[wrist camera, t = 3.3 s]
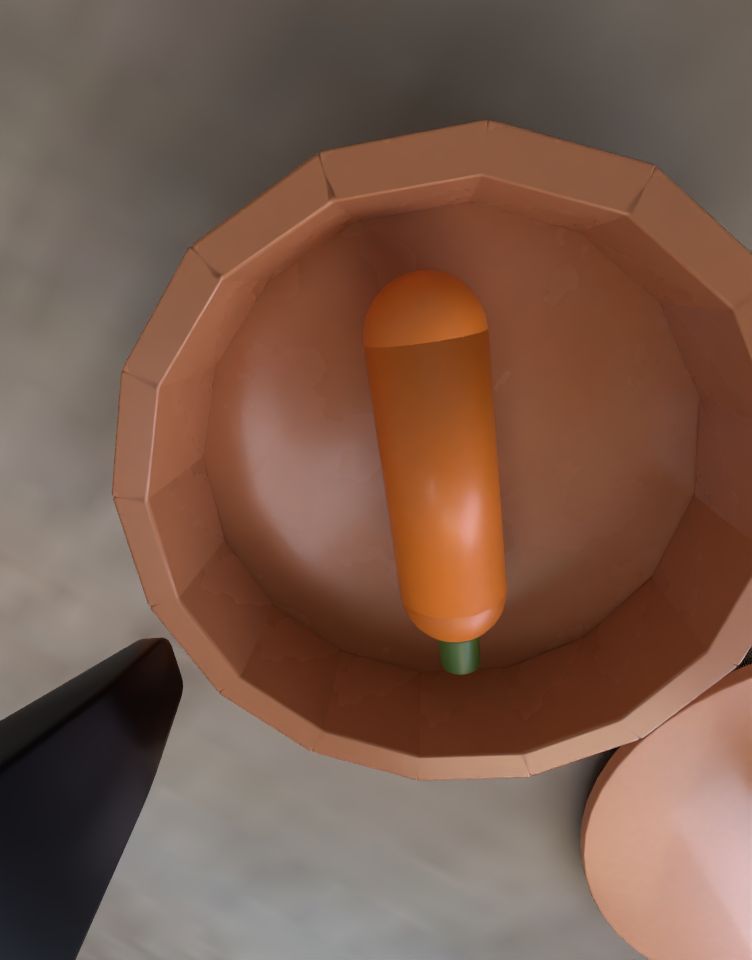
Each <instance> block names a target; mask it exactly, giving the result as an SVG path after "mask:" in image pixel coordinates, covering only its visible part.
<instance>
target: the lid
mask: <svg viewBox="0 0 752 960" xmlns="http://www.w3.org/2000/svg"><path fill="white" fill-rule="evenodd" d="M580 850H581V858H582V865H583V869H584V873H585V876H586V880H587V883H588V886H589V889H590V892H591V895H592V897H593V899H594V901H595V902H596V904H597V906H598V908H599V910H600V912H601V913H602V915H603V916H604V917H605V919H606V920H607V921H608V923H609V924H610V925H611V926H612V928H613V929H614V930H615V931H616V932H617V933H618V934H619V935H620V936H621V937H622V938H623V939H624V940H625V941H626V942H627V943H628V944H629V945H630V946H631V947H633V948H634V949H636V950H637V951H638V952H640V953H641V954H642V955H644V956H645V957H647V958H648V959H649V960H752V664H749V665H747V666H744V667H742V668H739V669H737V670H734V671H732V672H730V673H728V674H727V675H726V676H724V677H723V678H722V679H720V680H719V681H718V682H716V683H715V684H714V685H712V686H711V687H710V688H708V689H707V690H706V691H704V692H703V693H702V694H700V695H699V696H698V697H696V698H695V699H694V700H692V701H691V702H690V703H689V704H687V705H686V706H685V707H683V708H682V709H681V710H679V711H678V712H677V713H675V714H674V715H673V716H671V717H670V718H669V719H667V720H666V721H665V722H663V723H662V724H661V725H659V726H658V727H657V728H655V729H654V730H653V731H651V732H650V733H649V734H648V735H646V736H645V737H644V738H639V739H638V740H637V741H634V742H631V743H628V744H625V745H622V746H621V747H620V748H619V749H618V750H617V751H616V752H615V753H614V754H613V755H612V757H611V758H610V760H609V761H608V763H607V764H606V766H605V767H604V769H603V770H602V772H601V773H600V775H599V776H598V778H597V780H596V782H595V784H594V786H593V789H592V791H591V793H590V795H589V797H588V800H587V803H586V807H585V811H584V814H583V818H582V822H581V835H580Z"/></svg>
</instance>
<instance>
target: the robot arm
mask: <svg viewBox="0 0 752 960" xmlns="http://www.w3.org/2000/svg"><path fill="white" fill-rule="evenodd" d="M182 691H183V681H182V677H181V674H180V670H179V667H178V664H177V661H176V658H175V655H174V652H173V649H172V646H171V644H170V642H169V641H168V640H167V639H165V638H150V639H141V640H138V641H136V642H135V643H133V644H131V645H130V646H128V647H126V648H124V649H123V650H121V651H119V652H118V653H116V654H114V655H112V656H111V657H109V658H107V659H106V660H104V661H102V662H100V663H99V664H97V665H95V666H94V667H92V668H90V669H88V670H87V671H85V672H83V673H82V674H80V675H78V676H77V677H75V678H73V679H71V680H70V681H68V682H66V683H65V684H63V685H61V686H59V687H58V688H56V689H54V690H53V691H51V692H49V693H47V694H46V695H44V696H42V697H41V698H39V699H37V700H35V701H34V702H32V703H30V704H29V705H27V706H25V707H24V708H22V709H20V710H18V711H17V712H15V713H13V714H12V715H10V716H8V717H6V718H5V719H3V720H1V721H0V960H76V957H77V955H78V953H79V950H80V948H81V946H82V944H83V941H84V939H85V937H86V935H87V932H88V930H89V928H90V926H91V923H92V921H93V919H94V916H95V914H96V912H97V910H98V907H99V905H100V903H101V901H102V898H103V896H104V894H105V892H106V889H107V887H108V885H109V883H110V880H111V878H112V876H113V873H114V871H115V869H116V867H117V864H118V862H119V860H120V858H121V855H122V853H123V851H124V849H125V846H126V844H127V842H128V839H129V837H130V835H131V833H132V830H133V828H134V826H135V824H136V821H137V819H138V817H139V815H140V812H141V810H142V808H143V805H144V803H145V801H146V798H147V796H148V793H149V791H150V788H151V785H152V783H153V780H154V777H155V775H156V772H157V769H158V766H159V763H160V760H161V757H162V754H163V751H164V748H165V745H166V742H167V739H168V736H169V733H170V730H171V727H172V724H173V721H174V718H175V715H176V712H177V709H178V706H179V703H180V700H181V696H182Z"/></svg>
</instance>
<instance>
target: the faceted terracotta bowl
mask: <svg viewBox="0 0 752 960" xmlns="http://www.w3.org/2000/svg"><path fill="white" fill-rule="evenodd" d="M417 270H435V271H441V272H445V273H448V274H450V275H453V276H455V277H457V278H458V279H460V280H461V281H463V282H464V283H466V284H467V285H468V286H469V287H470V288H471V289H472V290H473V291H474V293H475V294H476V296H477V297H478V299H479V300H480V302H481V304H482V306H483V309H484V311H485V314H486V318H487V324H488V330H489V344H490V358H491V372H492V386H493V400H494V413H495V427H496V441H497V455H498V469H499V483H500V497H501V511H502V525H503V539H504V553H505V567H506V581H507V597H506V602H505V605H504V608H503V612H502V614H501V615H500V617H499V619H498V620H497V622H496V623H495V625H493V626H492V627H491V628H490V629H489V630H488V631H487V632H486V633H485V634H483V635H481V636H480V637H479V642H480V653H481V663H480V666H479V667H478V668H477V669H476V670H475V671H474V672H472V673H469V674H465V675H457V674H452V673H450V672H448V671H446V670H445V669H444V668H443V666H442V664H441V659H440V651H439V643H438V640H437V639H435V638H432V637H430V636H429V635H427V634H426V633H424V632H423V631H421V630H420V629H419V628H418V627H417V626H416V625H415V624H414V623H413V622H412V620H411V619H410V618H409V616H408V614H407V612H406V610H405V608H404V606H403V602H402V599H401V594H400V587H399V581H398V574H397V567H396V561H395V554H394V547H393V540H392V534H391V527H390V520H389V514H388V507H387V500H386V493H385V487H384V480H383V473H382V466H381V460H380V453H379V446H378V440H377V433H376V426H375V419H374V413H373V406H372V399H371V393H370V386H369V379H368V372H367V366H366V359H365V352H364V342H363V330H364V323H365V319H366V316H367V313H368V310H369V307H370V306H371V304H372V302H373V300H374V299H375V297H376V296H377V295H378V293H379V292H380V291H381V290H382V289H383V288H384V287H385V286H386V285H387V284H389V283H390V282H391V281H392V280H394V279H396V278H398V277H400V276H402V275H404V274H406V273H410V272H414V271H417ZM122 370H123V371H122V372H121V383H120V396H119V409H118V422H117V435H116V448H115V461H114V474H113V487H112V495H113V496H114V499H113V500H114V503H115V506H116V509H117V512H118V515H119V518H120V521H121V524H122V527H123V530H124V533H125V536H126V539H127V542H128V545H129V548H130V551H131V554H132V557H133V560H134V563H135V566H136V569H137V572H138V575H139V578H140V581H141V584H142V587H143V590H144V593H145V596H146V599H147V602H148V604H149V605H151V610H152V611H153V612H154V613H155V615H156V616H157V617H158V618H159V620H160V621H161V622H162V623H163V624H164V626H165V627H166V628H167V629H168V631H169V632H170V633H171V634H172V636H173V637H174V638H175V639H176V641H177V642H178V643H179V644H180V645H181V647H182V648H183V649H184V650H185V652H186V653H187V654H188V655H189V657H190V658H191V659H192V660H193V662H194V663H195V664H196V665H197V666H198V668H199V669H200V670H201V671H202V673H203V674H204V675H205V676H206V678H207V679H208V680H209V681H210V683H211V684H212V685H213V686H214V687H215V689H216V690H217V691H220V694H221V695H222V696H224V697H225V698H227V699H228V700H230V701H232V702H233V703H235V704H236V705H238V706H240V707H241V708H243V709H244V710H246V711H247V712H249V713H251V714H252V715H254V716H255V717H257V718H258V719H260V720H262V721H263V722H265V723H266V724H268V725H270V726H271V727H273V728H274V729H276V730H277V731H279V732H281V733H282V734H284V735H285V736H287V737H288V738H290V739H292V740H293V741H295V742H296V743H298V744H300V745H301V746H303V747H304V748H306V749H307V750H309V751H311V750H312V752H315V753H318V754H322V755H326V756H329V757H333V758H337V759H341V760H344V761H348V762H352V763H355V764H359V765H363V766H367V767H370V768H374V769H378V770H381V771H385V772H389V773H393V774H396V775H400V776H404V777H407V778H411V779H418V780H450V779H485V778H521V777H529V776H530V775H531V776H533V775H536V774H539V773H542V772H545V771H548V770H551V769H554V768H557V767H560V766H563V765H566V764H569V763H572V762H575V761H578V760H581V759H584V758H587V757H590V756H593V755H595V754H598V753H601V752H604V751H607V750H610V749H613V748H616V747H619V746H622V745H625V744H628V743H631V742H634V741H637V740H638V739H639V738H644V737H645V736H646V735H648V734H649V733H650V732H651V731H653V730H654V729H655V728H657V727H658V726H659V725H661V724H662V723H663V722H665V721H666V720H667V719H669V718H670V717H671V716H673V715H674V714H675V713H677V712H678V711H679V710H681V709H682V708H683V707H685V706H686V705H687V704H689V703H690V702H691V701H692V700H694V699H695V698H696V697H698V696H699V695H700V694H702V693H703V692H704V691H706V690H707V689H708V688H710V687H711V686H712V685H714V684H715V683H716V682H718V681H719V680H720V679H722V678H723V677H724V676H726V675H727V674H728V673H730V672H731V671H732V670H733V669H735V668H736V667H737V665H739V664H740V663H741V662H742V660H743V658H744V657H745V655H746V654H747V652H748V650H749V649H750V647H751V646H752V253H751V252H749V251H748V250H747V249H746V248H745V247H744V246H743V245H742V244H741V243H740V242H739V241H737V240H736V239H735V238H734V237H733V236H732V235H731V234H730V233H729V232H728V231H727V230H726V229H724V228H723V227H722V226H721V225H720V224H719V223H718V222H717V221H716V220H715V219H714V218H712V217H711V216H710V215H709V214H708V213H707V212H706V211H705V210H704V209H703V208H702V207H701V206H699V205H698V204H697V203H696V202H695V201H694V200H693V199H692V198H691V197H690V196H689V195H688V194H686V193H685V192H684V191H683V190H682V189H681V188H680V187H679V186H678V185H677V184H676V183H674V182H673V181H672V180H671V179H670V178H669V177H668V176H667V175H666V174H665V173H664V172H663V171H661V170H660V169H659V168H657V167H655V165H653V164H651V163H647V162H644V161H640V160H636V159H633V158H629V157H625V156H622V155H618V154H614V153H611V152H607V151H603V150H600V149H596V148H592V147H589V146H585V145H581V144H578V143H574V142H570V141H567V140H563V139H559V138H556V137H552V136H548V135H545V134H541V133H537V132H534V131H530V130H526V129H523V128H519V127H515V126H512V125H508V124H504V123H501V122H497V121H493V120H488V121H487V120H480V121H474V122H469V123H464V124H459V125H453V126H448V127H443V128H438V129H433V130H427V131H422V132H417V133H412V134H406V135H401V136H396V137H391V138H386V139H380V140H375V141H370V142H365V143H359V144H354V145H349V146H344V147H339V148H333V149H328V150H323V151H320V152H319V154H316V155H314V156H312V157H311V158H309V159H308V160H307V161H305V162H304V163H303V164H301V165H300V166H299V167H297V168H296V169H294V170H293V171H292V172H290V173H289V174H288V175H286V176H285V177H283V178H282V179H281V180H279V181H278V182H277V183H275V184H274V185H273V186H271V187H270V188H268V189H267V190H266V191H264V192H263V193H262V194H260V195H259V196H257V197H256V198H255V199H253V200H252V201H251V202H249V203H248V204H247V205H245V206H244V207H242V208H241V209H240V210H238V211H237V212H236V213H234V214H233V215H232V216H230V217H229V218H227V219H226V220H225V221H223V222H222V223H221V224H219V225H218V226H216V227H215V228H214V229H212V230H211V231H210V232H208V233H207V234H206V235H204V236H203V237H201V238H200V239H199V240H197V241H196V242H195V243H194V244H193V245H192V247H189V248H188V250H187V251H186V253H185V255H184V257H183V259H182V261H181V262H180V264H179V266H178V268H177V270H176V271H175V273H174V275H173V277H172V279H171V281H170V282H169V284H168V286H167V288H166V290H165V292H164V293H163V295H162V297H161V299H160V301H159V302H158V304H157V306H156V308H155V310H154V312H153V313H152V315H151V317H150V319H149V321H148V322H147V324H146V326H145V328H144V330H143V332H142V333H141V335H140V337H139V339H138V341H137V343H136V344H135V346H134V348H133V350H132V352H131V353H130V355H129V357H128V359H127V361H126V363H125V364H124V366H123V369H122Z"/></svg>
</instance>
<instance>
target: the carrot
mask: <svg viewBox="0 0 752 960" xmlns="http://www.w3.org/2000/svg"><path fill="white" fill-rule="evenodd" d="M363 342H364V352H365V359H366V366H367V372H368V379H369V386H370V393H371V399H372V406H373V413H374V419H375V426H376V433H377V440H378V446H379V453H380V460H381V466H382V473H383V480H384V487H385V493H386V500H387V507H388V514H389V520H390V527H391V534H392V540H393V547H394V554H395V561H396V567H397V574H398V581H399V587H400V594H401V599H402V602H403V606H404V608H405V610H406V612H407V614H408V616H409V618H410V619H411V620H412V622H413V623H414V624H415V625H416V626H417V627H418V628H419V629H420V630H421V631H423V632H424V633H426V634H427V635H429V636H430V637H432V638H435V639H437V640H438V643H439V651H440V659H441V664H442V666H443V668H444V669H445V670H446V671H448V672H450V673H452V674H457V675H465V674H469V673H472V672H474V671H475V670H476V669H477V668H478V667H479V666H480V663H481V653H480V642H479V637H480V636H481V635H483V634H485V633H486V632H487V631H488V630H489V629H490V628H491V627H492V626H493V625H495V623H496V622H497V620H498V619H499V617H500V615H501V614H502V612H503V608H504V605H505V602H506V597H507V581H506V567H505V553H504V539H503V525H502V511H501V497H500V483H499V469H498V455H497V441H496V427H495V413H494V400H493V386H492V372H491V358H490V344H489V330H488V324H487V318H486V314H485V311H484V309H483V306H482V304H481V302H480V300H479V299H478V297H477V296H476V294H475V293H474V291H473V290H472V289H471V288H470V287H469V286H468V285H467V284H466V283H464V282H463V281H461V280H460V279H458V278H457V277H455V276H453V275H450V274H448V273H445V272H441V271H435V270H417V271H414V272H410V273H406V274H404V275H402V276H400V277H398V278H396V279H394V280H392V281H391V282H390V283H389V284H387V285H386V286H385V287H384V288H383V289H382V290H381V291H380V292H379V293H378V295H377V296H376V297H375V299H374V300H373V302H372V304H371V306H370V307H369V310H368V313H367V316H366V319H365V323H364V330H363Z"/></svg>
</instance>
